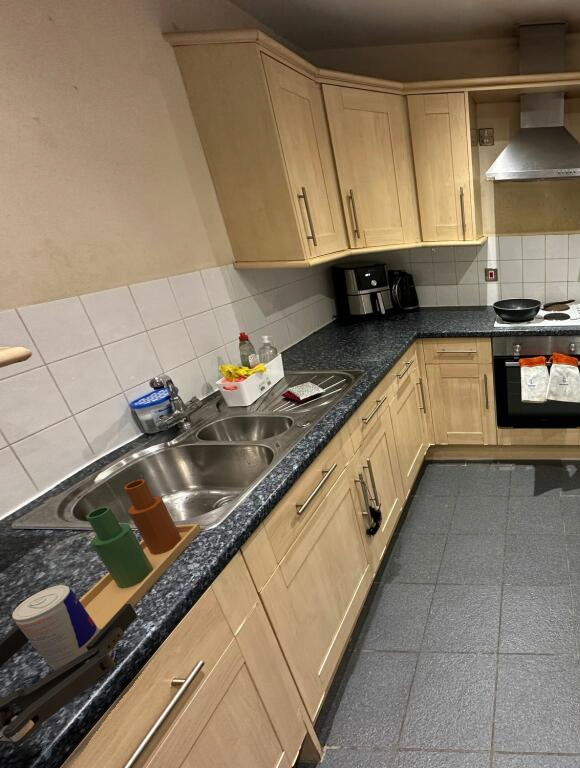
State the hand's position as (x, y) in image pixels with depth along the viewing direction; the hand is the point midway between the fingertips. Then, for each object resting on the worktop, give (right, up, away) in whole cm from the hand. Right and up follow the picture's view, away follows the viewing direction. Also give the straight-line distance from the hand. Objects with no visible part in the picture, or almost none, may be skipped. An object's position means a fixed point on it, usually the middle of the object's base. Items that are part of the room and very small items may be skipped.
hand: (85, 613), depth 61 cm
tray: (-7, -2, +16) cm, 18 cm away
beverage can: (+1, -9, 0) cm, 9 cm away
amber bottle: (-8, +1, +24) cm, 25 cm away
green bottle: (-7, -2, +16) cm, 18 cm away
